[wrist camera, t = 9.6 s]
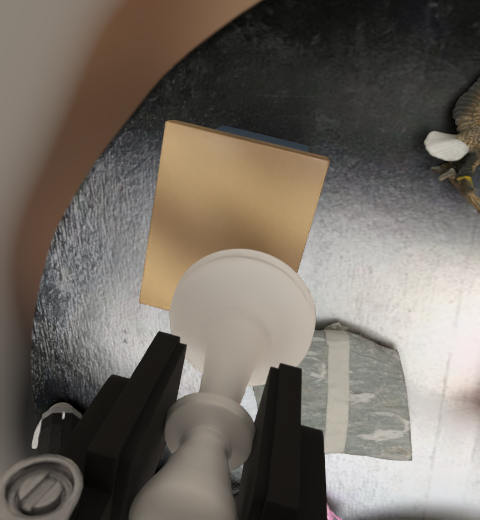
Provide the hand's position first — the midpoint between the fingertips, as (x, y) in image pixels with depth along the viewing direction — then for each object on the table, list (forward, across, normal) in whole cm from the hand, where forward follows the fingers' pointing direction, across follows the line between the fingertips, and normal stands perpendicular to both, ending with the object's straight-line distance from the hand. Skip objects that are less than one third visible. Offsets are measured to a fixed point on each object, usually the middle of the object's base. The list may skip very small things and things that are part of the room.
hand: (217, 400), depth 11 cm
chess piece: (+5, 0, 0) cm, 5 cm away
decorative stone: (+27, -11, +17) cm, 34 cm away
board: (+14, +2, 0) cm, 14 cm away
